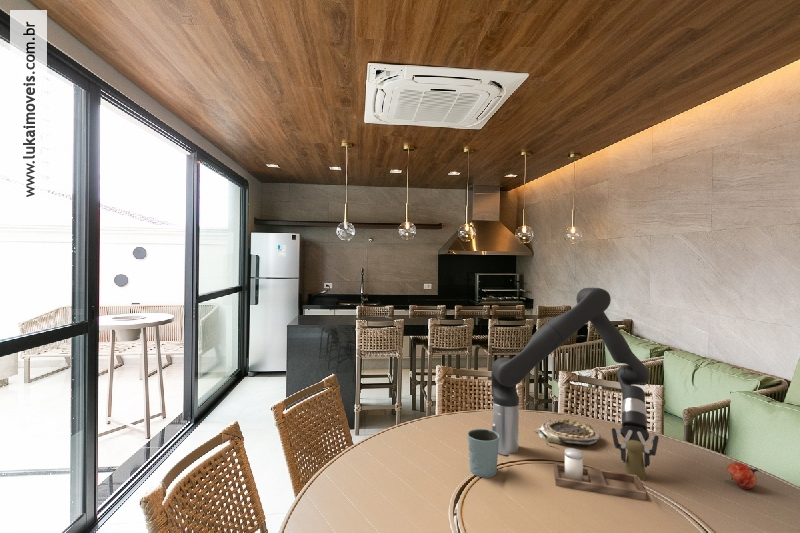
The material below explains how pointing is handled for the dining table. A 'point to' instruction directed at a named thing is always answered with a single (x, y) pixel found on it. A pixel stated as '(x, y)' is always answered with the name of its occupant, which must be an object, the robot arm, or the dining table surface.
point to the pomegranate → (742, 475)
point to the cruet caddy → (602, 482)
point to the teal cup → (483, 452)
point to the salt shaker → (573, 464)
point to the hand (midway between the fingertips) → (635, 463)
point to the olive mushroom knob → (635, 459)
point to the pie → (568, 432)
